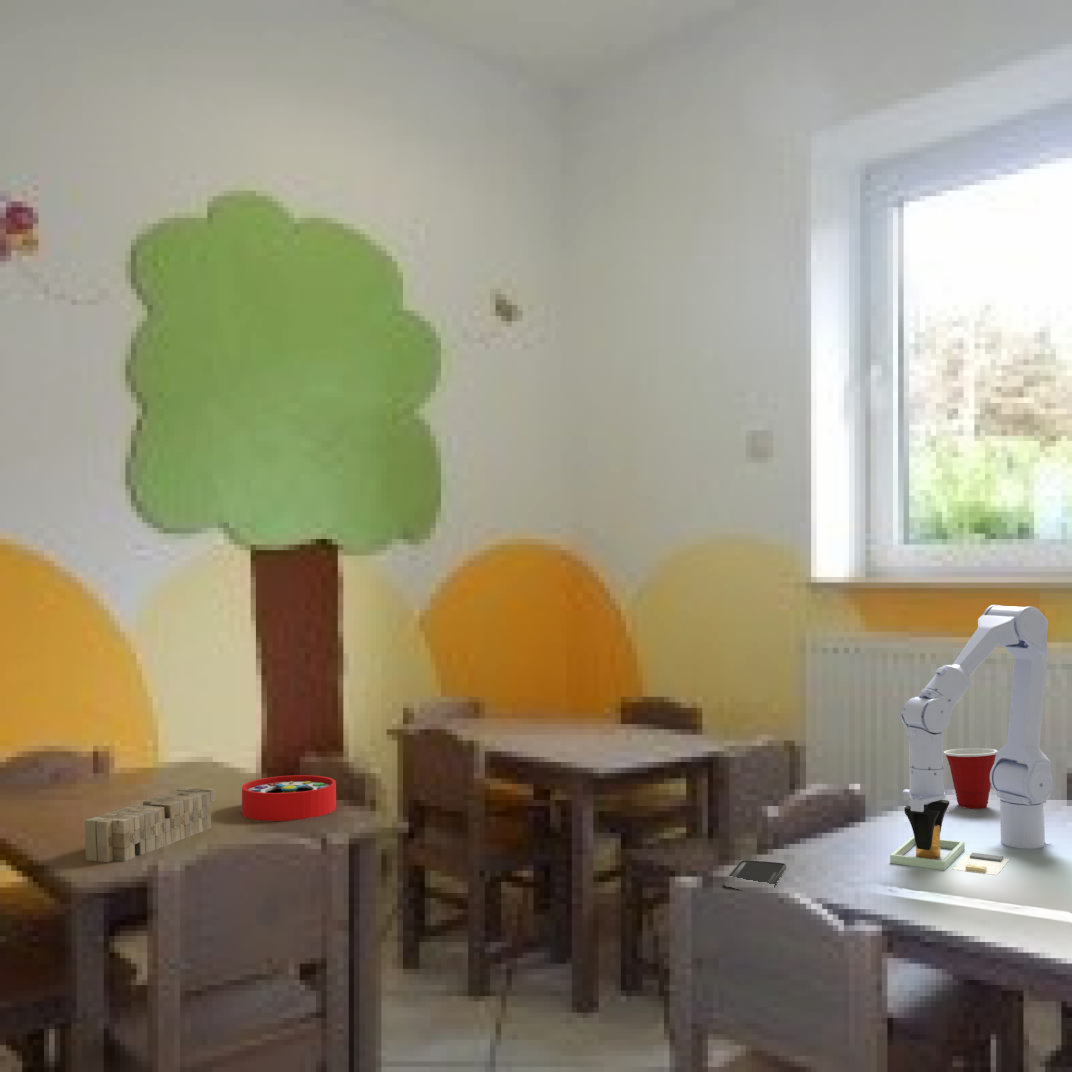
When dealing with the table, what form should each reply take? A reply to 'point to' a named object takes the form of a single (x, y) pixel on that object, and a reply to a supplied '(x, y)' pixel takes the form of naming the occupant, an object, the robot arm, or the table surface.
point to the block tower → (148, 825)
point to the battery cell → (935, 847)
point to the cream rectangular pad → (982, 863)
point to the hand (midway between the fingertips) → (927, 845)
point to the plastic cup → (971, 775)
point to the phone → (759, 871)
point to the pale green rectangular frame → (923, 862)
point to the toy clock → (288, 797)
